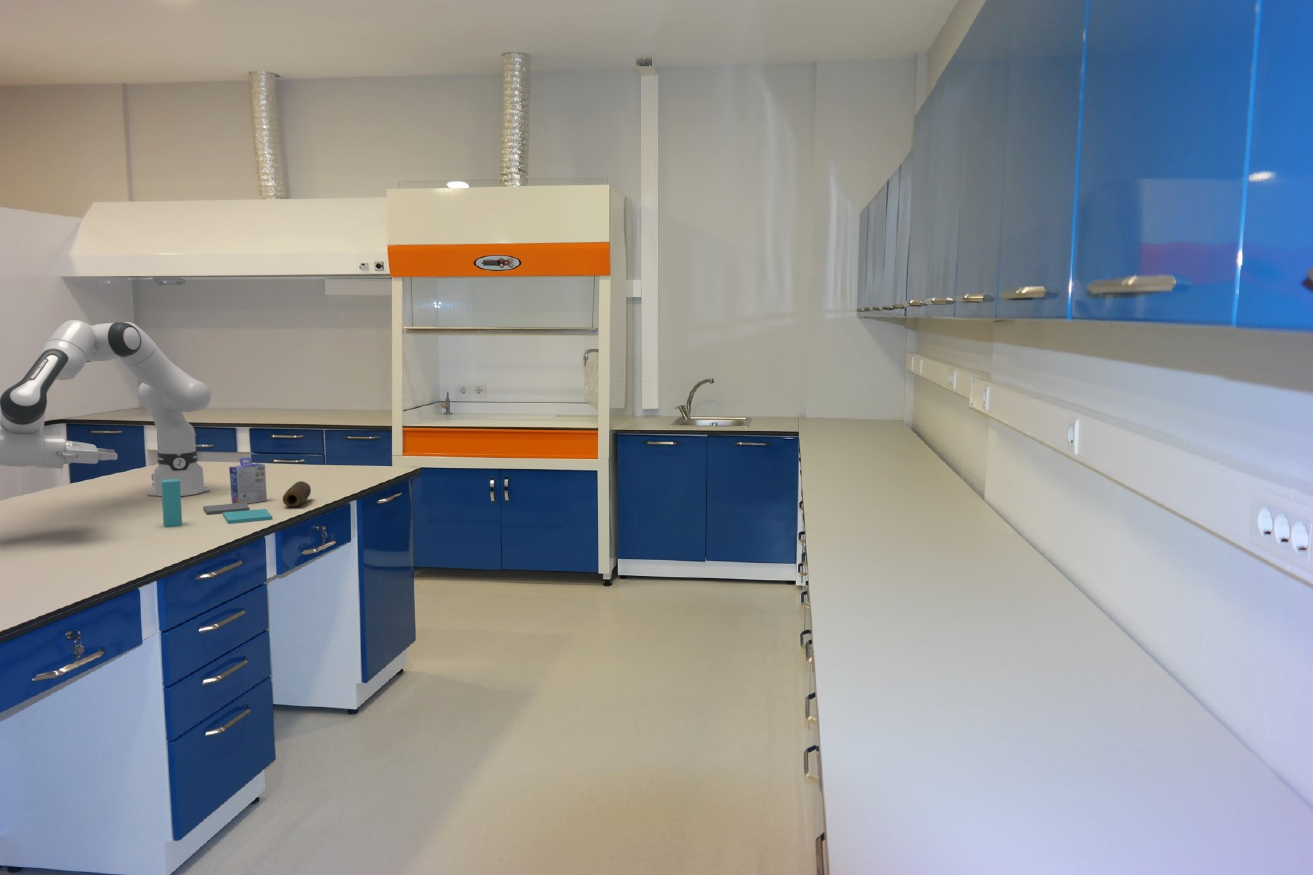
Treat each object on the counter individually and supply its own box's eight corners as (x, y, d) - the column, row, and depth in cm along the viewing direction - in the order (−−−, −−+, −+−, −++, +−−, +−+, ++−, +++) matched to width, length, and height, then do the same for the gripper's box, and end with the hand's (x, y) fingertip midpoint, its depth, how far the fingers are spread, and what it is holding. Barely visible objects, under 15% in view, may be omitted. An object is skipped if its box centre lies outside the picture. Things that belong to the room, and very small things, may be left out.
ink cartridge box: (259, 498, 300) (257, 455, 298) (268, 501, 297) (266, 457, 295) (230, 503, 292) (228, 459, 291) (238, 505, 289) (236, 461, 287)
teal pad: (222, 515, 274) (222, 512, 274) (265, 511, 281) (265, 508, 281) (228, 523, 264) (228, 520, 264) (272, 519, 271) (272, 516, 271)
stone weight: (289, 500, 300) (288, 480, 299) (311, 499, 301) (311, 479, 300) (281, 509, 285) (281, 488, 284) (305, 508, 287) (304, 488, 286)
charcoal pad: (203, 509, 283) (203, 506, 282) (245, 505, 289) (244, 502, 289) (206, 514, 275) (206, 511, 275) (249, 511, 281) (249, 507, 281)
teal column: (163, 523, 262) (160, 479, 261) (180, 522, 265) (178, 478, 263) (164, 527, 259) (162, 482, 257) (182, 525, 261) (179, 481, 259)
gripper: (58, 443, 235) (119, 446, 243) (57, 437, 252) (114, 440, 260) (56, 467, 235) (117, 470, 243) (55, 459, 252) (112, 462, 260)
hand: (116, 454), depth 252 cm, fingers open, 8 cm apart
